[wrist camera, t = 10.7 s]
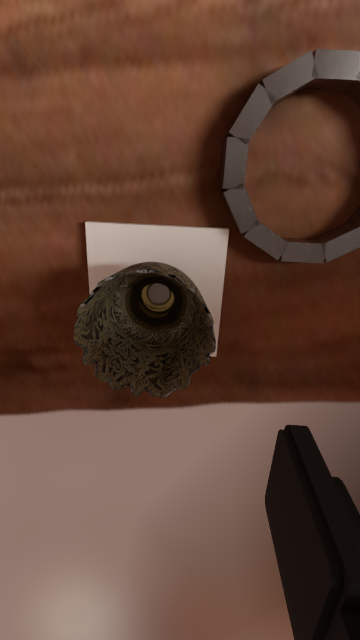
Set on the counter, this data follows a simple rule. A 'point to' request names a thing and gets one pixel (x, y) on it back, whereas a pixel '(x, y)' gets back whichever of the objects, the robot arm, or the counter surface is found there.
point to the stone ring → (303, 73)
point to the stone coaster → (161, 256)
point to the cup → (145, 330)
